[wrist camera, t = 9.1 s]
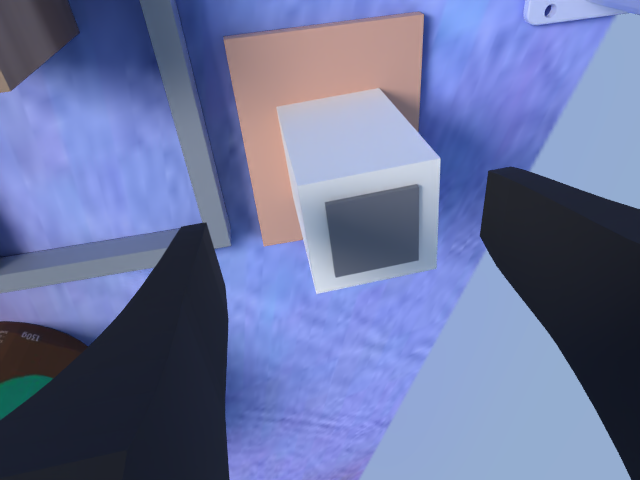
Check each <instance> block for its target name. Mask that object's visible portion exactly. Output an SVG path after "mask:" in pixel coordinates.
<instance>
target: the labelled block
mask: <svg viewBox="0 0 640 480" xmlns="http://www.w3.org/2000/svg"><path fill="white" fill-rule="evenodd" d="M276 108H277V113H278V119H279V124H280V130H281V135H282V140H283V146H284V151H285V157H286V162H287V167H288V173H289V178H290V184H291V189H292V194H293V199H294V203H295V207H296V212H297V216H298V220H299V224H300V228H301V232H302V236H303V240H304V245H305V249H306V253H307V257H308V261H309V265H310V269H311V273H312V278H313V282H314V286H315V290H316V294H318V293H323V292H328V291H332V290H337V289H342V288H347V287H351V286H356V285H361V284H366V283H371V282H375V281H380V280H385V279H390V278H394V277H399V276H404V275H409V274H413V273H418V272H423V271H428V270H432V269H436V267H437V241H438V214H439V187H440V161H441V158H440V157H439V156H438V155H437V154H436V153H435V151H434V150H433V149H432V148H431V147H430V146H429V145H428V143H427V142H426V141H425V140H424V139H423V138H422V136H421V135H420V134H419V133H418V132H417V131H416V130H415V128H414V127H413V126H412V125H411V124H410V123H409V122H408V120H407V119H406V118H405V117H404V116H403V115H402V114H401V112H400V111H399V110H398V109H397V108H396V107H395V106H394V104H393V103H392V102H391V101H390V100H389V99H388V98H387V96H386V95H385V94H384V93H383V92H382V91H381V90H380V88H376V89H371V90H365V91H360V92H355V93H349V94H344V95H338V96H333V97H327V98H322V99H316V100H311V101H305V102H300V103H294V104H289V105H283V106H278V107H276Z"/></svg>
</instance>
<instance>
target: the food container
mask: <svg viewBox="0 0 640 480" xmlns="http://www.w3.org/2000/svg"><path fill="white" fill-rule="evenodd" d="M87 348H88V346H87V345H85V344H84V343H82V342H81V341H79V340H77V339H75V338H74V337H72V336H70V335H68V334H65V333H63V332H60V331H57V330H55V329H51V328H48V327H44V326H40V325H35V324H29V323H22V322H8V321H3V322H0V420H1V419H2V418H4V417H5V416H6V415H8V414H9V413H10V412H12V411H13V410H14V409H16V408H17V407H18V406H20V405H21V404H22V403H24V402H25V401H26V400H27V399H29V398H30V397H31V396H33V395H34V394H35V393H36V392H38V391H39V390H40V389H41V388H42V387H44V386H45V385H46V384H47V383H49V382H50V381H51V380H52V379H53V378H55V377H56V376H57V375H58V374H59V373H60V372H61V371H62V370H64V369H65V368H66V367H67V366H68V365H69V364H70V363H71V362H72V361H73V360H74V359H76V358H77V357H78V356H79V355H80V354H81V353H82V352H83V351H84V350H85V349H87Z"/></svg>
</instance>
